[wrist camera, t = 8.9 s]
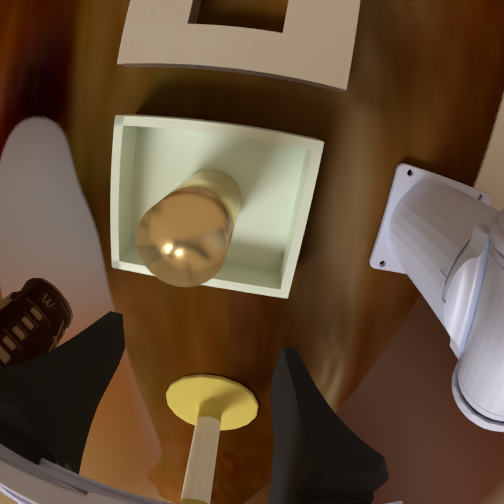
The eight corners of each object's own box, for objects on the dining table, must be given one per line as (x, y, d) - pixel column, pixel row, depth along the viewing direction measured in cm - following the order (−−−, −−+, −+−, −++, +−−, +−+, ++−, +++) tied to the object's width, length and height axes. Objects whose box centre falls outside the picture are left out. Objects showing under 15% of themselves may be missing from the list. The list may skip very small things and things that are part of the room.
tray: (315, 138, 19) (324, 142, 16) (285, 276, 23) (287, 298, 20) (134, 114, 18) (115, 115, 16) (128, 249, 23) (112, 267, 20)
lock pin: (245, 173, 19) (231, 205, 12) (238, 231, 21) (222, 293, 14) (184, 166, 19) (136, 194, 12) (180, 223, 21) (137, 279, 14)
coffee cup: (18, 313, 27) (-46, 388, 15) (16, 253, 24) (-71, 328, 12) (79, 349, 28) (23, 442, 16) (85, 291, 25) (5, 395, 13)
